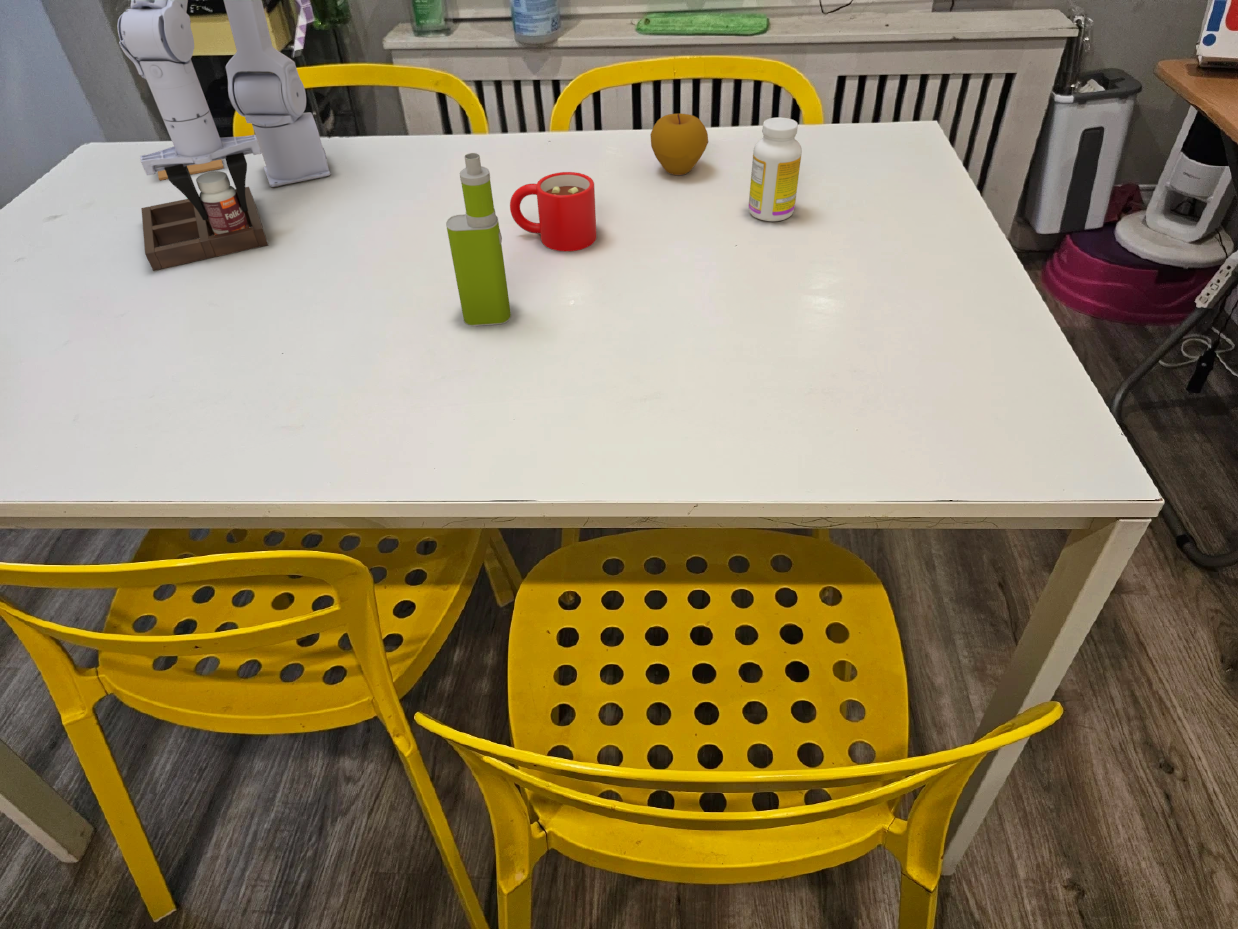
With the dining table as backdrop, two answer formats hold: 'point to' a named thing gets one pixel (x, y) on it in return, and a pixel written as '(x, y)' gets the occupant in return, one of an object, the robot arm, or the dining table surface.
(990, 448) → the dining table surface
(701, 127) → the apple
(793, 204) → the supplement bottle
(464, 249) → the vape
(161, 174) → the cork mat
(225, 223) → the pill bottle
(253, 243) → the rack
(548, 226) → the mug
